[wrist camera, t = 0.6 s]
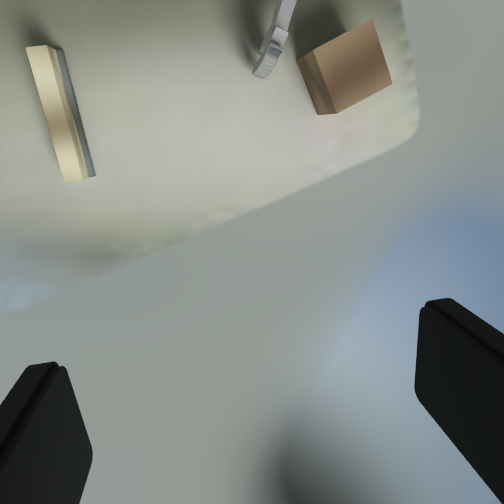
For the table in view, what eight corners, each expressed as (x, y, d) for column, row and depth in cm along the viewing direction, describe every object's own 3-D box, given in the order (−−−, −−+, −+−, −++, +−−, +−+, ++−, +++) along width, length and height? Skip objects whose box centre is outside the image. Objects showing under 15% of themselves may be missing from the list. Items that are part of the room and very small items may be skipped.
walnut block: (296, 60, 32) (312, 49, 28) (346, 33, 32) (372, 18, 28) (317, 114, 34) (336, 113, 29) (365, 89, 34) (392, 83, 29)
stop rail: (39, 53, 29) (25, 47, 27) (63, 51, 30) (52, 44, 27) (74, 178, 33) (64, 182, 30) (95, 175, 33) (88, 179, 31)
